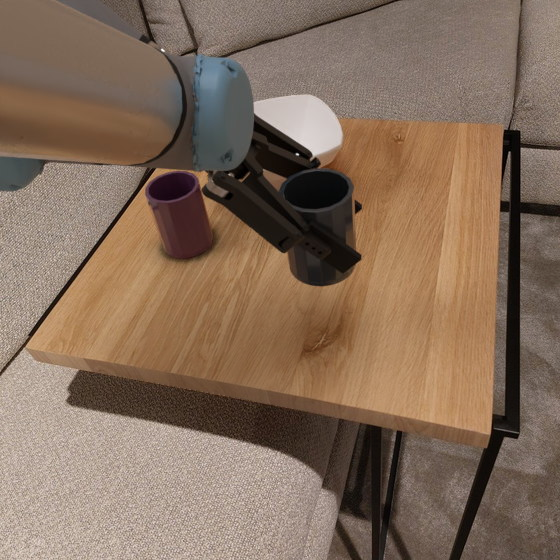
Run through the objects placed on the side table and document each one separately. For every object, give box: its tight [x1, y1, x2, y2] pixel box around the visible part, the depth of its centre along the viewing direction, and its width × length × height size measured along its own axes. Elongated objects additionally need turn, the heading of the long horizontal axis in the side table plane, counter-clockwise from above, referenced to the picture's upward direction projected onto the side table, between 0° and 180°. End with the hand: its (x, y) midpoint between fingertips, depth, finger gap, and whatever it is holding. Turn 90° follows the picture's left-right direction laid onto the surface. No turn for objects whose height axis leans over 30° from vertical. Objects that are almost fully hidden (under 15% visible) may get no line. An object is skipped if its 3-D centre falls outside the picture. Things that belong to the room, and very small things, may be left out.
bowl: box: [239, 94, 345, 192], centre depth 93 cm, size 21×21×9 cm
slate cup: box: [278, 167, 357, 287], centre depth 62 cm, size 7×7×10 cm
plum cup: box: [144, 170, 214, 260], centre depth 83 cm, size 7×7×10 cm
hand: (352, 237), depth 62 cm, fingers closed on slate cup, 7 cm apart
